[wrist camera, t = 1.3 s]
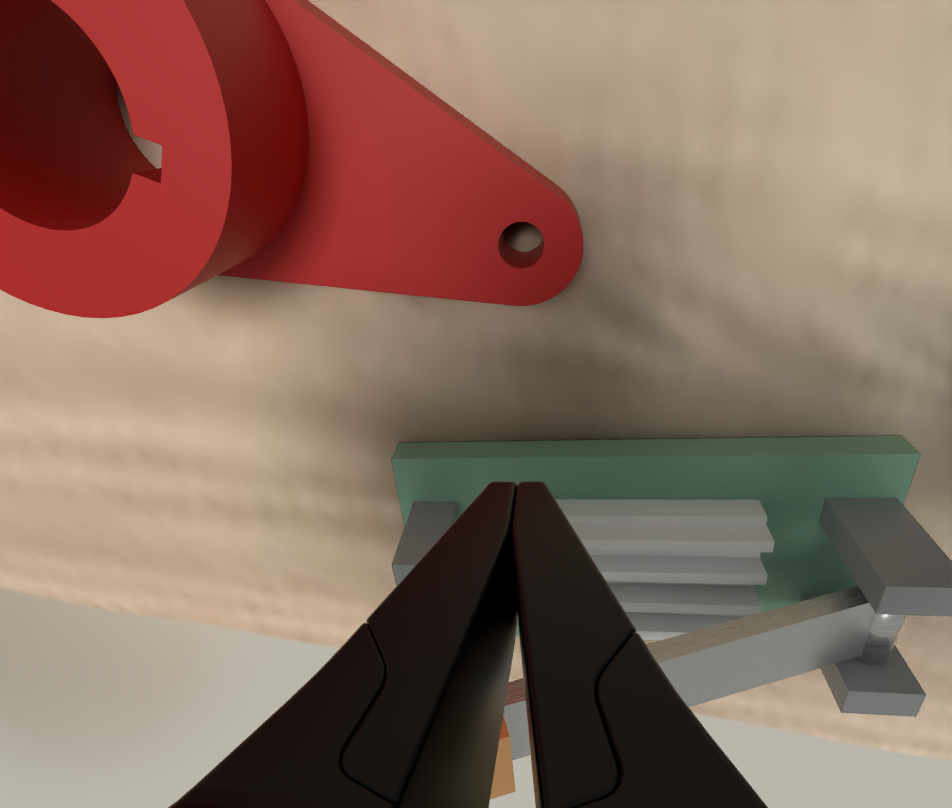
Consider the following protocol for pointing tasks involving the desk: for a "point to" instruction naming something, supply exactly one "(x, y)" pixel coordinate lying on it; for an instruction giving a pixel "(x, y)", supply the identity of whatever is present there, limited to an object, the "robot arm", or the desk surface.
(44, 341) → the desk surface
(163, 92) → the lever
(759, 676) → the strap
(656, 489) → the base
